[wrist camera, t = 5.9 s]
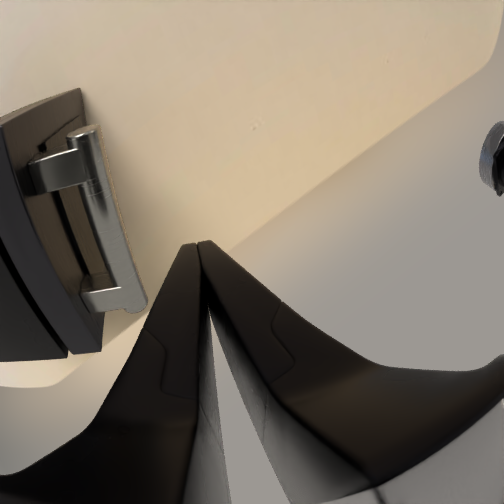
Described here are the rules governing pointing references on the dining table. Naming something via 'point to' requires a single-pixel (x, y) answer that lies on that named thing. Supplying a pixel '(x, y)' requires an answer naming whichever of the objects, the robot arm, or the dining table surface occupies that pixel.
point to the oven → (23, 314)
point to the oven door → (65, 220)
